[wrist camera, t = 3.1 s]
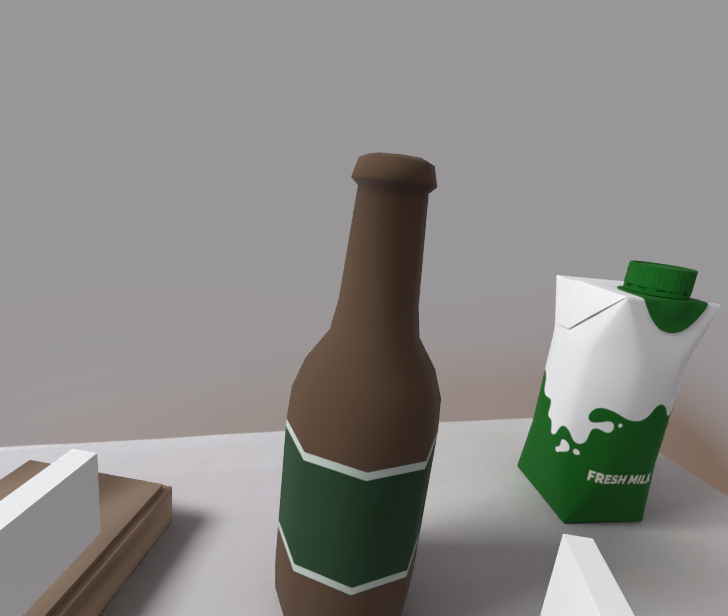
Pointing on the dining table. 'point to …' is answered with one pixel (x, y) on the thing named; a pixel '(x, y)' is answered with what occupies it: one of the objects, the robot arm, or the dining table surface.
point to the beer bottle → (363, 415)
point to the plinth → (103, 542)
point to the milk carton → (611, 389)
